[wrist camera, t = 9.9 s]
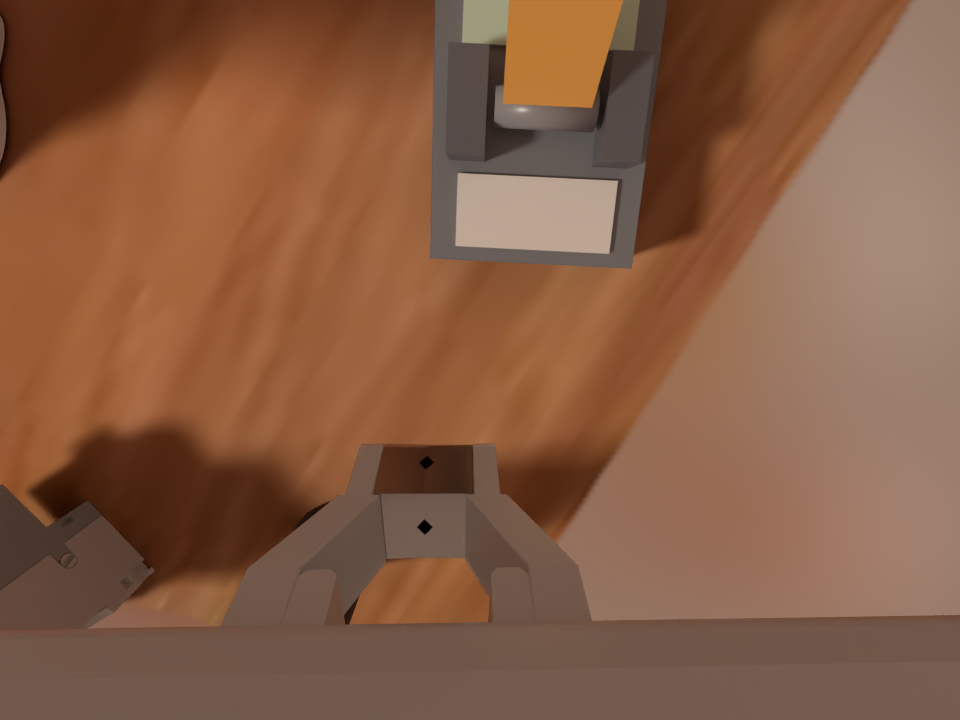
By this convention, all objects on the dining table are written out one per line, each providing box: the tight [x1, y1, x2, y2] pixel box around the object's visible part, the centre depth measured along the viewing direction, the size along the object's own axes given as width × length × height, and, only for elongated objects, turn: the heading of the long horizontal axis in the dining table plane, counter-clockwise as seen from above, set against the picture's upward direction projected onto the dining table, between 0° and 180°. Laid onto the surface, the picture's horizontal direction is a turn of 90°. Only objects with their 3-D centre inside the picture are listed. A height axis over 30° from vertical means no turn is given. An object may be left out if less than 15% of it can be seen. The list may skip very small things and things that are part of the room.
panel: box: [430, 0, 668, 269], centre depth 27 cm, size 16×12×8 cm
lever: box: [494, 0, 623, 133], centre depth 20 cm, size 2×5×12 cm
